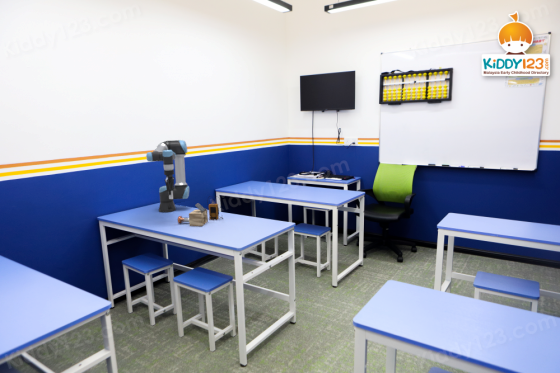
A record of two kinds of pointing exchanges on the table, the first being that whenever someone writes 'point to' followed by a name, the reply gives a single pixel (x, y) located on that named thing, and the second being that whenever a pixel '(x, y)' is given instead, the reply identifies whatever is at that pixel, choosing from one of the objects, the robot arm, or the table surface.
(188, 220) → the pin
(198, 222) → the hitch block
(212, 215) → the multimeter
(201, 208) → the keeper flap
